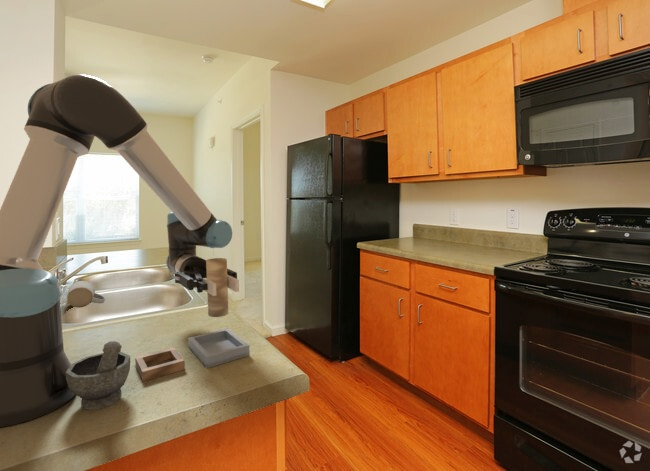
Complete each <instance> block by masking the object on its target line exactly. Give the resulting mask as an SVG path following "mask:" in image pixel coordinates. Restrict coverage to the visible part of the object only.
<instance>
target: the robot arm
mask: <svg viewBox="0 0 650 471" xmlns="http://www.w3.org/2000/svg"><path fill="white" fill-rule="evenodd" d="M27 114H28V118H27V120H26V123H25V125H24V128H23V130H24V131H25V133H26V136H27V137H28V139H29V141H28V142H27V146H26V148H25V150H24V152H23V155H22V157H21V160H20V162H19V165H18V167H17V170H16V172H15V173H14V176H13V178H12V181H11V182H10V185H9V188H8V190H7V193H6V195H5V197H4V200H3V201H2V205H1V207H0V428H2V427H3V428H4V427H9V426H13V425H17V424H21V423H25V422H29V421H31V420H34V419H37V418H40V417H42V416H45V415H46V414H49V413H51V412H53V411H55V410H56V409H59V408H60V407H62V406H64V405H65V404H67V403H68V402H69V401H70V400H72V399H73V398H74V397H75V395H76V394H74V393H73V392H72V391H71V390H70V388H69V387H68V384H67V381H66V371H67V370H68V368H69V367H70V365H71V364H72V363H71V361H70V360H69V358H68V356H67V354H66V351H65V350H64V335H63V334H64V333H63V324H62V323H63V322H62V321H63V320H62V310H61V309H62V307H61V298H60V297H61V289H60V286H59V283H58V282H59V281H58V278H57V277H56V275H54V273H52V272H50V271H47V270H44V268H43V266H42V265H41V264H40V262H39V257H40V256H41V253H42V250H43V248H44V245H45V242H46V241H47V240H46V239H47V237H48V235H49V232H50V230H51V226H52V225H53V222H54V219H55V217H56V214H57V212H58V209H59V207H60V204H61V201H62V199H63V196H64V195H65V194H64V193H65V191H66V188H67V186H68V183H69V181H70V178H71V175H72V173H73V170H74V168H75V165H76V163H77V160H78V158H79V157H82V156H85V155H87V154H89V152H90V150H91V147H92V144H93V142H94V140H95V138H97V139H98V140H100V141H101V143H103V145H104V146H105V147H106V148H107V149H108V150H114V151H117V152H118V153H119V154H120V156H121V157H122V158H123V159H124V161H125V162H126V163H128V165H129V166H130V167H131V168H132V169H133V170H134V171H135V172H136V174H138V176H139V177H140V178H141V179H142V180H143V182H145V183H146V184H147V186H148V187H149V188H150V189H151V190H152V191H153V193H154V194H155V195H156V196H157V197H158V198H159V199H160V200H161V201H162V202H163V203H164V205H165V206H166V207H167V208H168V209H169V210H170V212H169V213H168V214H167V217H166V218H167V219H166V220H167V224H166V228H167V240H168V255H167V257H166V261H165V263H166V264H165V265H166V267H167V269H168V270H169V272H170V273H171V274H173V275H174V284H180V285H181V286H182V287H184V288H186V289H187V290H188V291H193V290H194V289H196V290H197V291H196V292H197V293H199V294H200V293H203V292H204V291H205V292H206V293H207V292H208V293H209V294H211V295H212V296H216V283H214V282H213V281H211V280H209V279H207V270H206V260H207V259H205V258H202V257H200V256H197V246H199V247H204V248H206V247H207V248H210V249H223V248H225V247H227V246H228V245H229V244H230V242H231V241H232V239H233V228H232V226H231V225H230V223H229V222H227V221H224V220H222V219H217V218H216V217H215V216H214V214H213V213H212V212H211V211H210V209H209V208H208V207H207V205H206V204H205V202H203V201H202V199H201V198H200V197H199V195H198V194H197V193H196V191H194V189H193V188H192V187H191V185H190V184H189V183H188V181H187V180H186V179H185V177H183V175H182V174H181V173H180V171H179V170H178V169H177V167H176V166H175V164H173V162H172V161H171V160H170V159H169V158H168V156H167V154H165V152H164V151H163V150H162V149H161V147H160V146H159V144H157V142H156V141H155V140H154V138H153V137H152V136H151V135H150V133H149V132H148V123H147V121H146V120H144V118H143V117H142V116H141V115H140V113H139V111H137V109H136V108H135V107H134V106H133V105H132V103H131V102H129V100H127V99H126V97H125V96H124V95H122V94H121V93H120V92H119V91H118V90H117V89H115V88H114V87H113V86H112V85H110V84H109V83H107V82H106V81H104V80H102V79H100V78H98V77H95V76H91V75H89V74H88V75H86V74H72V75H68V76H67V77H65V78H63V79H60V80H58V81H55V82H51V83H48V84H45V85H43V86H41V87H39V88H38V89H36V90H35V91H34V93H33V94H32V95H31V96H30V98H29V100H28V103H27ZM227 282H228V289H230V290H232V291H234V293H235V292H237V293H238V292H240V283H239V282H240V280H239V279H238V272H236V271H234V270H231V269H230V268H227Z"/></svg>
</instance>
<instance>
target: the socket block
mask: <svg viewBox="0 0 650 471" xmlns="http://www.w3.org/2000/svg"><path fill="white" fill-rule="evenodd" d="M134 359H135V368H136V369H137V372H138V374H139V376H140V378H141V380H142V382H145V381H149V380H153V379H155V378H159V377H163V376H166V375H170V374H173V373H177V372H180V371H183V370H185V369H186V368H185V367H186V366H185V360H184V358H183V357H182V356H181V354H180V353H179V351H178V350H177V349H176V348H175V347H171V348H166V349H163V350H158V351H154V352H150V353H146V354H143V355H138V356H135V357H134ZM169 360H171V361H169ZM164 361H168V362H164ZM161 362H164V363H161ZM156 363H161V364H158V365H154V366H149V365H153V364H156ZM148 366H149V367H148Z"/></svg>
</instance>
